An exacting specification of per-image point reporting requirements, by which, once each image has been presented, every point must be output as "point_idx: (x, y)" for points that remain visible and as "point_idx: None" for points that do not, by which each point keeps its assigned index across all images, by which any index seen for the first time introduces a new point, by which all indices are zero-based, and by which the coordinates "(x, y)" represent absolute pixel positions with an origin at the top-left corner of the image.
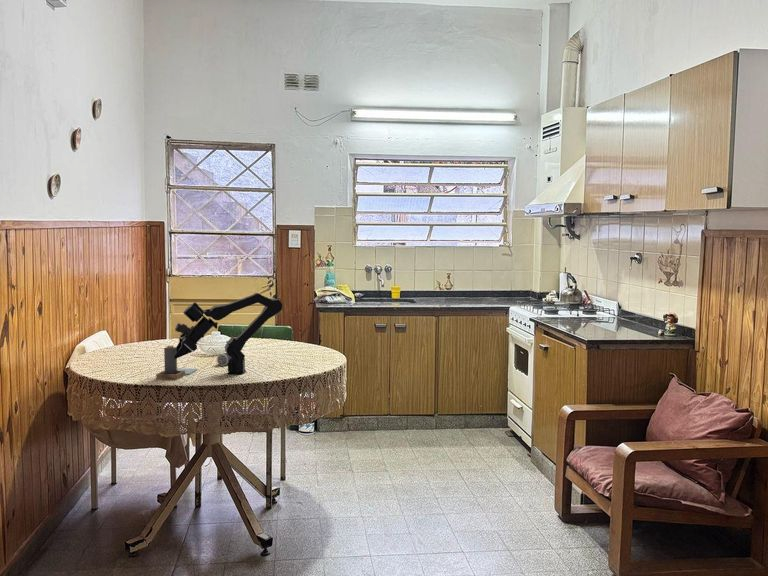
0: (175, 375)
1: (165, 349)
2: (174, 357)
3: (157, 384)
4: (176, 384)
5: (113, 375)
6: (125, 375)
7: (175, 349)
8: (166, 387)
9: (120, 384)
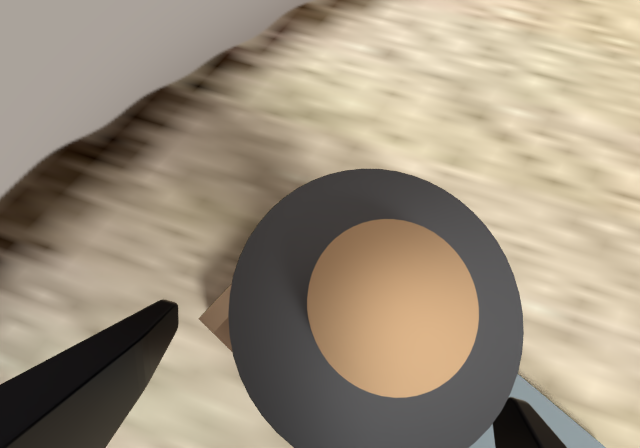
0: (209, 308)
1: (328, 180)
2: (161, 305)
3: (160, 158)
4: (67, 260)
5: (552, 41)
6: (525, 88)
7: (255, 394)
8: (34, 176)
9: (296, 8)
